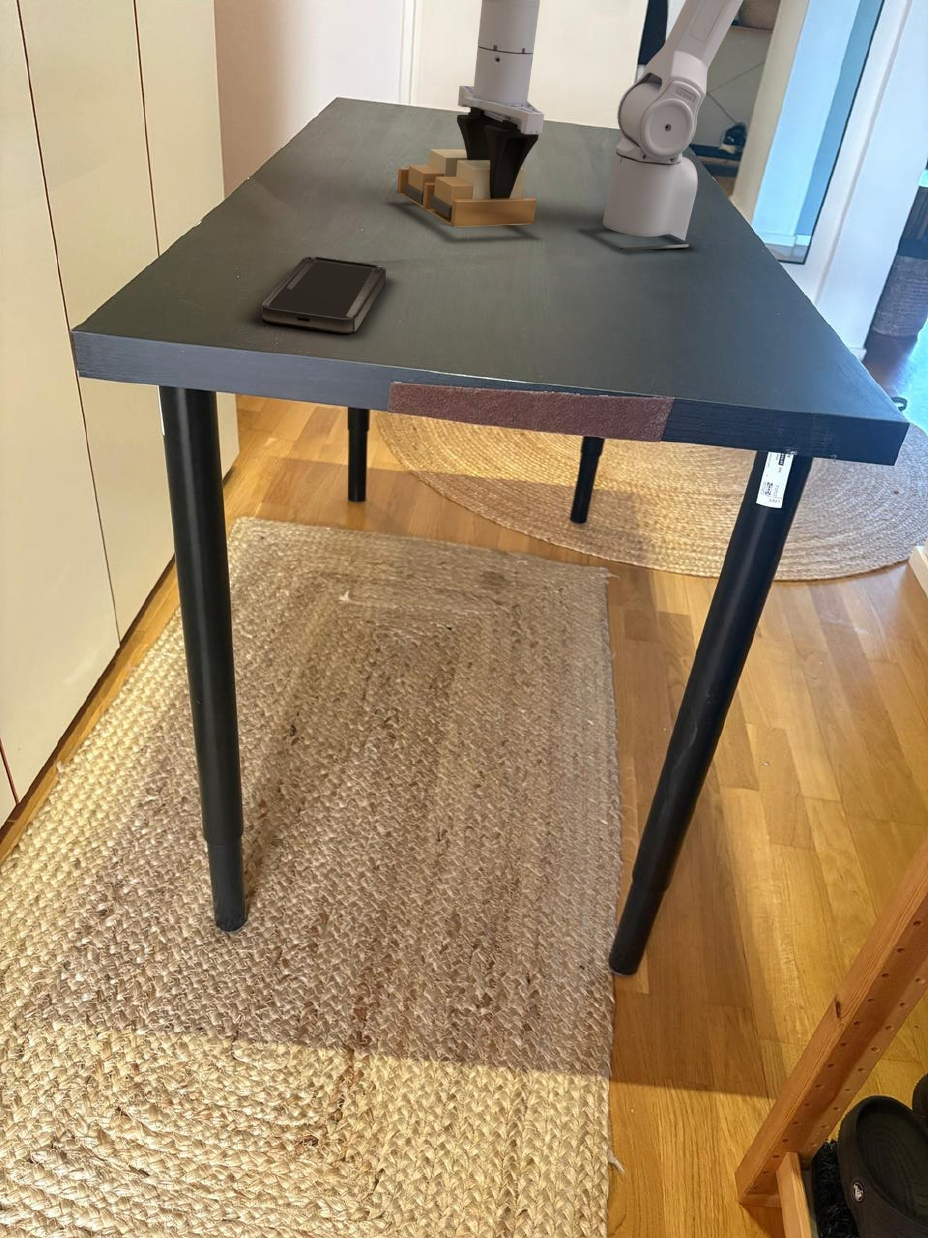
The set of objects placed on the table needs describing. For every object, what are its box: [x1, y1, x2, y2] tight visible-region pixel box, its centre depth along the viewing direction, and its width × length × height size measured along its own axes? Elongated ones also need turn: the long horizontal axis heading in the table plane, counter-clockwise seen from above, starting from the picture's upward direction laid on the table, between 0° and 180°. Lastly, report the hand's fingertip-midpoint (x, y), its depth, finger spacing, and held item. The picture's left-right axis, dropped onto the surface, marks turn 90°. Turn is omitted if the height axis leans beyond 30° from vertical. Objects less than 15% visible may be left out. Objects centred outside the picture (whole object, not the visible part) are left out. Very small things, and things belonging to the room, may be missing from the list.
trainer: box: [430, 160, 527, 218], centre depth 100 cm, size 10×4×5 cm, turn 118°
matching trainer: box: [405, 148, 467, 205], centre depth 105 cm, size 10×4×5 cm, turn 118°
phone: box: [261, 256, 387, 334], centre depth 79 cm, size 8×1×15 cm
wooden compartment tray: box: [396, 167, 537, 228], centre depth 104 cm, size 10×14×4 cm
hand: (489, 193), depth 101 cm, fingers closed on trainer, 4 cm apart
